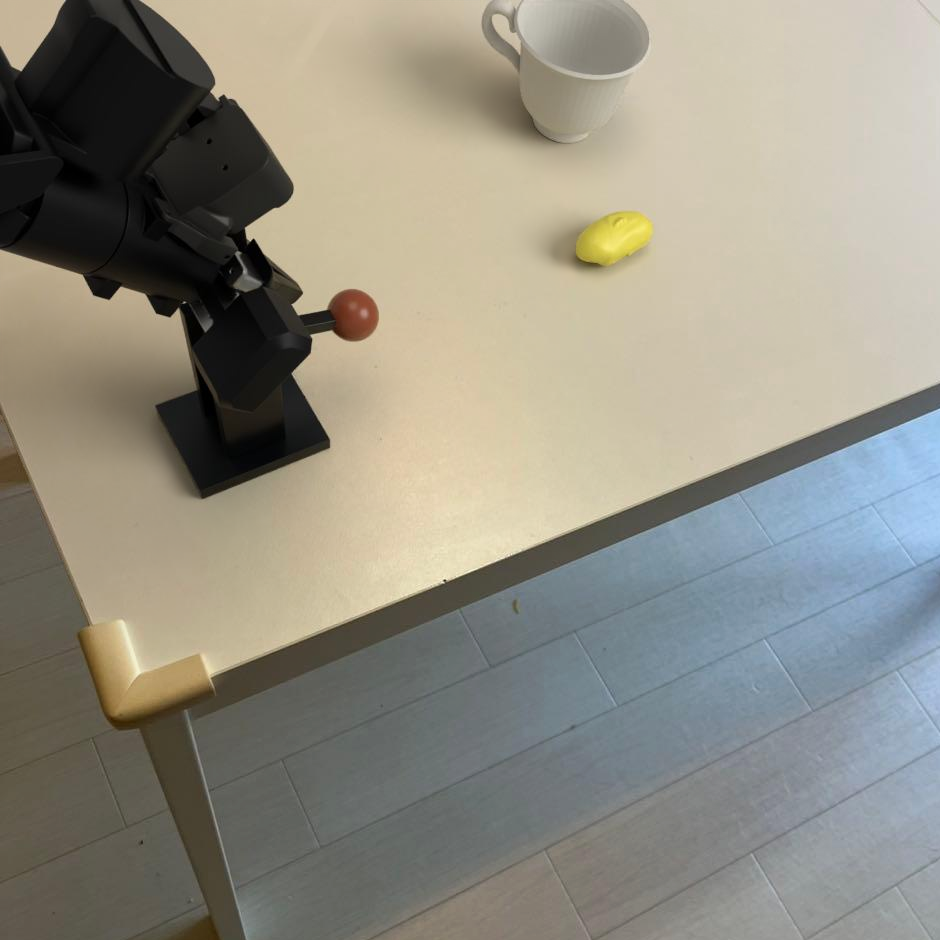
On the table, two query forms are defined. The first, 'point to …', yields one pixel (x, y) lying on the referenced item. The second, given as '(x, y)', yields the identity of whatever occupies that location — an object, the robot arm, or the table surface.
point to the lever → (345, 316)
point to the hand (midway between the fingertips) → (296, 294)
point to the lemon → (614, 237)
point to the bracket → (237, 429)
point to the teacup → (571, 59)
